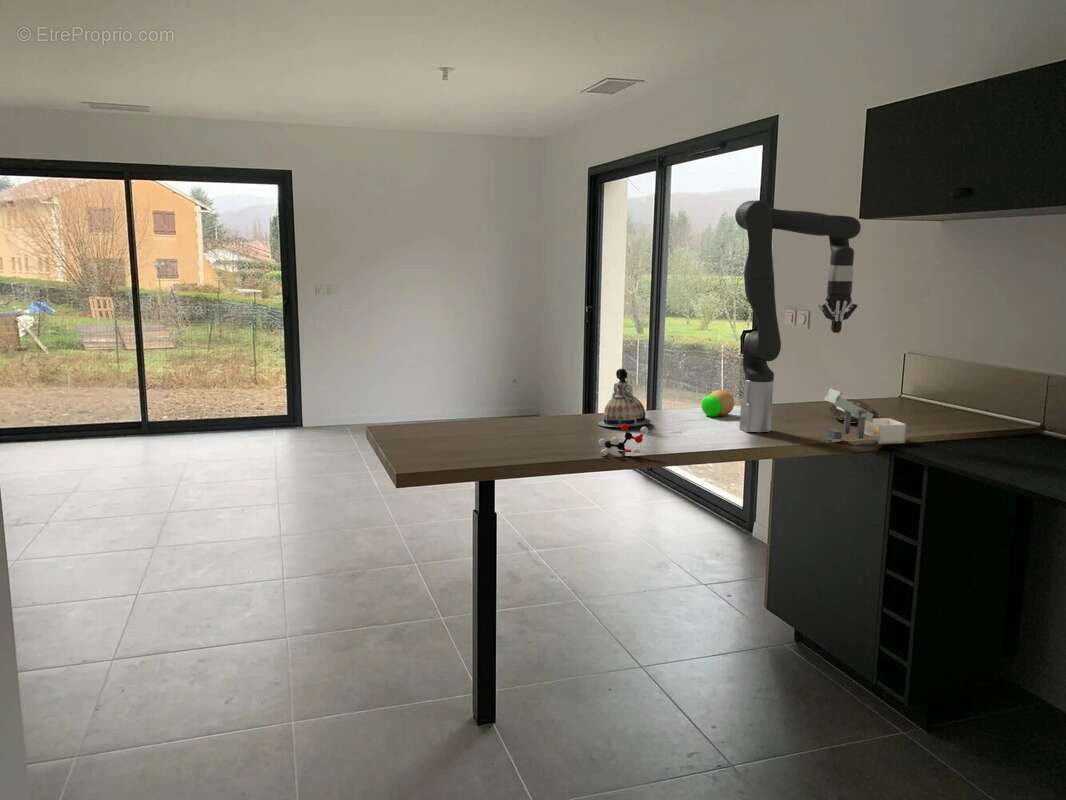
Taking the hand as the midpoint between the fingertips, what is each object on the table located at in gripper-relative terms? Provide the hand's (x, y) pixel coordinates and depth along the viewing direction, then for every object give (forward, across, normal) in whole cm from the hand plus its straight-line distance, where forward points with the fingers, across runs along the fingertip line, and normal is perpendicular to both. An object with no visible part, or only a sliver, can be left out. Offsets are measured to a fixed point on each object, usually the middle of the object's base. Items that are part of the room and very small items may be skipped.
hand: (835, 332), depth 260 cm
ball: (+31, +9, -15) cm, 36 cm away
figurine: (+33, -66, +17) cm, 76 cm away
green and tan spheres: (+33, -29, +27) cm, 52 cm away
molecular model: (+33, -78, -21) cm, 87 cm away
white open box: (+33, +10, -16) cm, 38 cm away
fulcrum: (+33, -2, -15) cm, 36 cm away
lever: (+24, -2, -10) cm, 26 cm away
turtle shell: (+33, +17, +12) cm, 39 cm away
